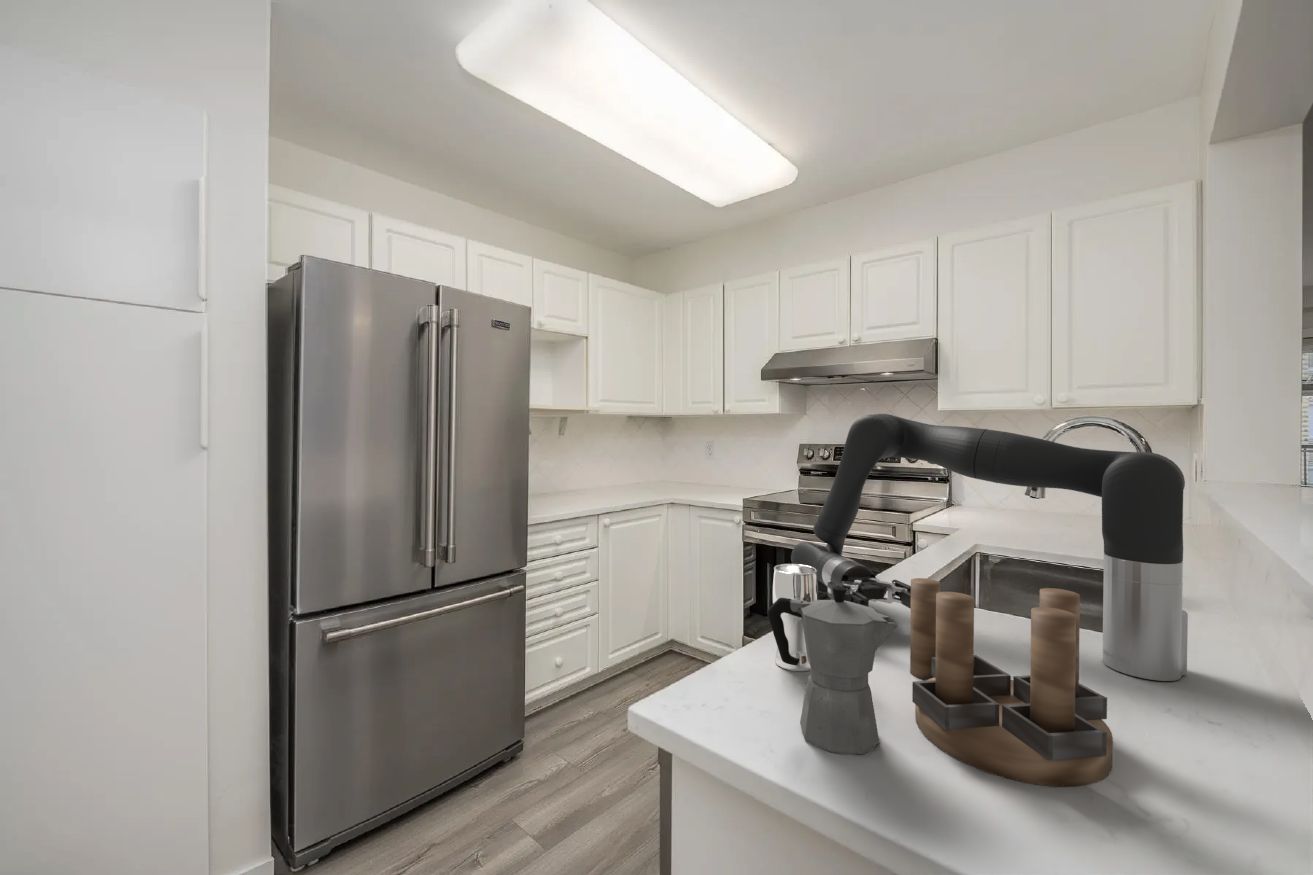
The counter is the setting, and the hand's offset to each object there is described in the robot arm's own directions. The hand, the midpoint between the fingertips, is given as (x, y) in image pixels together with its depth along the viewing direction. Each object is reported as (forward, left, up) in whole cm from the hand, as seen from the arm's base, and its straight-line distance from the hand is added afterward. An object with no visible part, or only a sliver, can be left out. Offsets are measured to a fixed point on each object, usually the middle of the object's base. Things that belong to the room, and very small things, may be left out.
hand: (891, 604), depth 95 cm
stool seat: (0, +27, -8) cm, 28 cm away
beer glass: (+18, +4, -8) cm, 20 cm away
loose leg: (0, +10, -8) cm, 12 cm away
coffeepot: (+21, +24, -8) cm, 33 cm away
